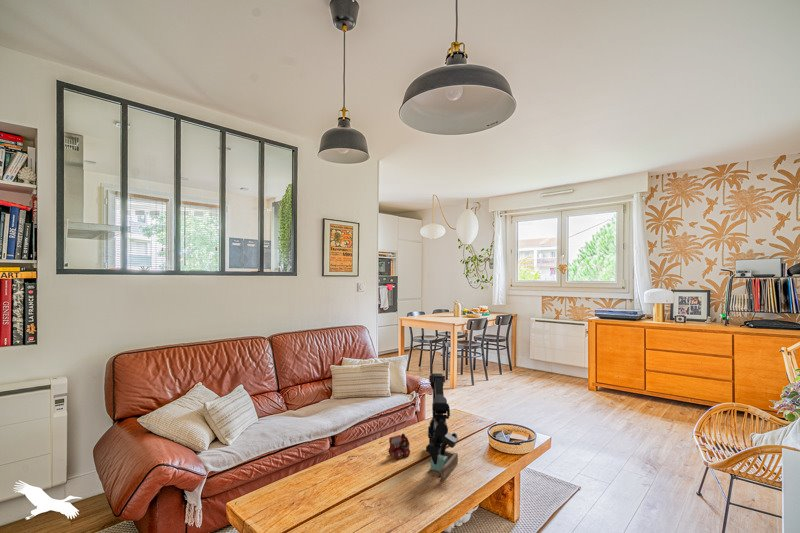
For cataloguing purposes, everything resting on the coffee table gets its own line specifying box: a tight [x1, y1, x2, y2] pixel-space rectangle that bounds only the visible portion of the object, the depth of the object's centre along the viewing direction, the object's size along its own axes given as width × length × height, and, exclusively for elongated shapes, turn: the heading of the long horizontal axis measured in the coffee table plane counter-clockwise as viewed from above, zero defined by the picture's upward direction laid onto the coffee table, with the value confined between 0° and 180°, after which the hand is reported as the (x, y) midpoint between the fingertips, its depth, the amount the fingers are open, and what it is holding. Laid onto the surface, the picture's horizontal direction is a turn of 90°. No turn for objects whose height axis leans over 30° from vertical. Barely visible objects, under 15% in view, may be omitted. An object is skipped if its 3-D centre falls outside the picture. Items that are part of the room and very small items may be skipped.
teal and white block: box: [430, 454, 448, 473], centre depth 184 cm, size 7×4×6 cm, turn 62°
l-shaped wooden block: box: [428, 450, 459, 482], centre depth 184 cm, size 11×19×5 cm, turn 152°
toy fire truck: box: [387, 433, 411, 460], centre depth 197 cm, size 7×12×10 cm, turn 126°
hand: (439, 460), depth 184 cm, fingers open, 9 cm apart
